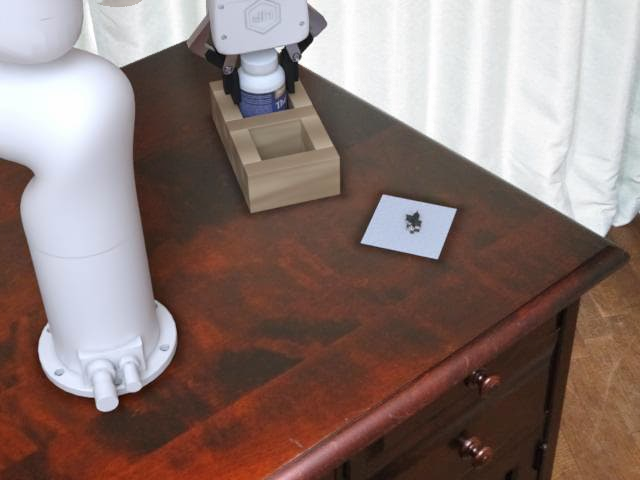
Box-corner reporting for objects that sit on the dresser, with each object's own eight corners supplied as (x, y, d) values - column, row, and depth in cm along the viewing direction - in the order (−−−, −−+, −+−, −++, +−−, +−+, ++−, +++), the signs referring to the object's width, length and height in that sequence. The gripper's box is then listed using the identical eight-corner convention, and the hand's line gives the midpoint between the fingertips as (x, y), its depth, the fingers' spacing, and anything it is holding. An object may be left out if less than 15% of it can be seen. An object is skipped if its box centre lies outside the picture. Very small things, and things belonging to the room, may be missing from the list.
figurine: (398, 217, 119) (399, 203, 117) (425, 222, 118) (426, 208, 117) (392, 231, 117) (392, 217, 116) (419, 237, 116) (419, 223, 115)
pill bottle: (287, 141, 127) (283, 68, 120) (238, 141, 127) (231, 68, 120) (288, 111, 131) (285, 39, 124) (241, 112, 131) (235, 39, 124)
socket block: (340, 194, 122) (339, 157, 118) (250, 213, 120) (247, 176, 116) (294, 102, 134) (292, 66, 131) (212, 118, 132) (208, 82, 129)
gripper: (174, -28, 109) (192, 126, 121) (345, -57, 113) (346, 96, 125) (159, -64, 114) (177, 88, 127) (323, -90, 118) (326, 60, 130)
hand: (261, 90), depth 126 cm, fingers closed on pill bottle, 5 cm apart
